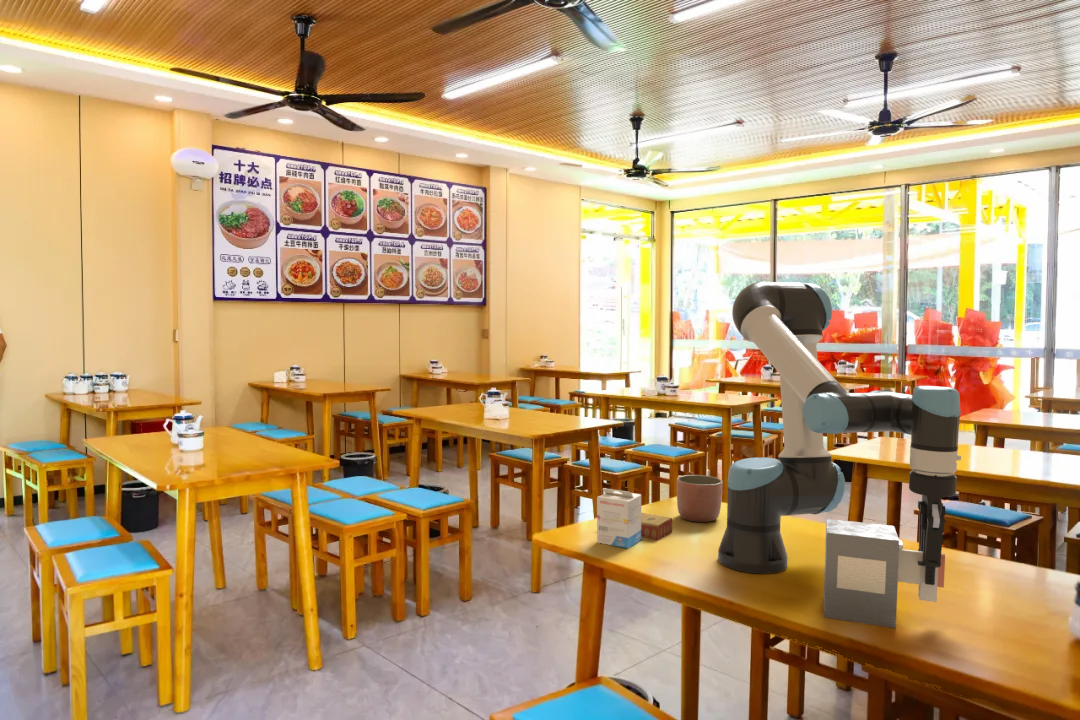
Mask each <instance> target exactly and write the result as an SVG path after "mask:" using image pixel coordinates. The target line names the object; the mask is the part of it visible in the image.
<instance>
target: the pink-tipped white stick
mask: <svg viewBox="0 0 1080 720" xmlns="http://www.w3.org/2000/svg"><path fill="white" fill-rule="evenodd" d="M922 560H923V552H922V551H918V550H914V549H913V550H911V549H904V548H903V549H899V563H898V583H906V584H912V585H913V584H915V585H919V584H920V571H921V565H918V561H922ZM945 566H946V554H945V553H941V565H940V567H938V582H937V588H944V587H945V570H946V567H945ZM944 589H945V588H944Z"/></svg>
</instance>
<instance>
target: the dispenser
mask: <svg viewBox="0 0 1080 720" xmlns="http://www.w3.org/2000/svg"><path fill="white" fill-rule="evenodd" d="M824 547H825V552H824V575H823V577H824V579H823V618H827V619H831V620H832V619H833V620H840V621H847V622H854V623H859V624H867V625H873V626H878V627H879V626H880V627H887V628H893V629H896V628H897V609H898V608H897V604H898V583H899V582H898V563H899V549H904V544H903V541H902V539H901V540H900V538H899V535H898V534H897V531H896V527H895V526H894V525H890V524H888V525H887V524H880V523H879V524H878V523H868V522H861V521H851V520H841V519H832V518H831V519H830V518H826V523H825V546H824Z"/></svg>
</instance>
